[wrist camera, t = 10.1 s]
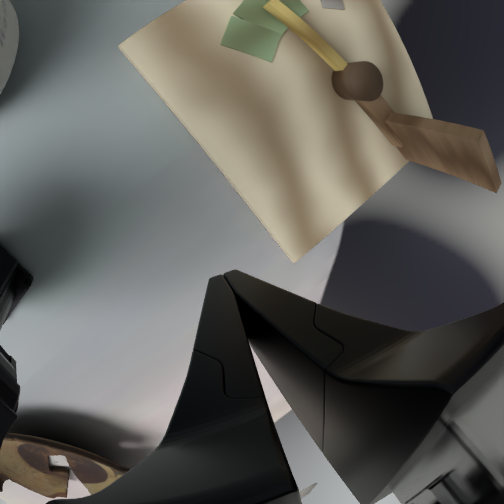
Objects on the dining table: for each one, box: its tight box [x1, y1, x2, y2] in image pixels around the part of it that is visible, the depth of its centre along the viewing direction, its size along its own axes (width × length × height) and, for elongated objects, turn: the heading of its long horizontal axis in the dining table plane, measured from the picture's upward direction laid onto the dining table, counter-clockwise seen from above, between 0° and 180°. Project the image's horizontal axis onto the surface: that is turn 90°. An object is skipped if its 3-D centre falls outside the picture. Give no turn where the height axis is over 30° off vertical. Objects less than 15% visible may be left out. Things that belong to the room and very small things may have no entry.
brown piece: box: [263, 0, 501, 193], centre depth 15 cm, size 18×3×10 cm, turn 54°
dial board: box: [118, 0, 433, 263], centre depth 20 cm, size 20×21×1 cm
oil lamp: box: [0, 433, 130, 498], centre depth 24 cm, size 22×30×8 cm
